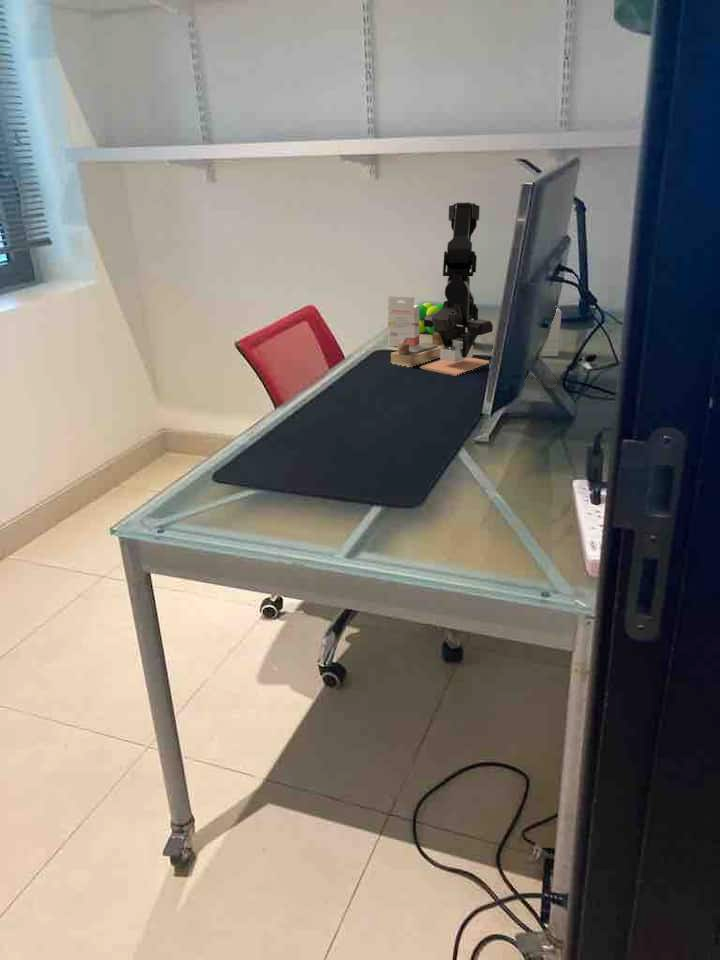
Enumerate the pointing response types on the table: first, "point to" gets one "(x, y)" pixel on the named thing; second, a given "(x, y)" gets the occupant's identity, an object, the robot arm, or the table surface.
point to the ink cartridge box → (403, 321)
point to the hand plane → (418, 352)
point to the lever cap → (454, 351)
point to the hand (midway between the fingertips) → (456, 355)
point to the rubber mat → (454, 366)
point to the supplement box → (553, 336)
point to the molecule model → (427, 310)
